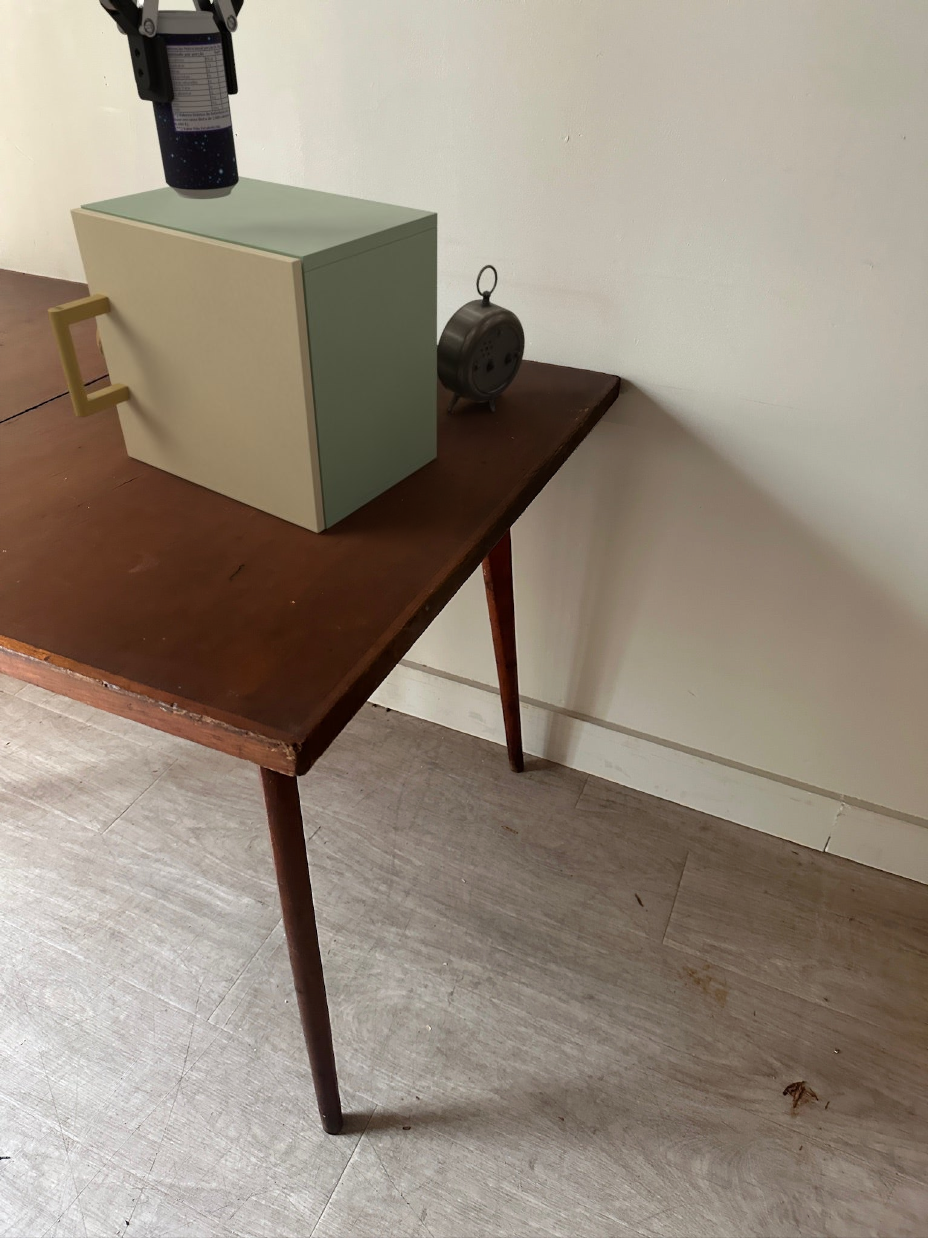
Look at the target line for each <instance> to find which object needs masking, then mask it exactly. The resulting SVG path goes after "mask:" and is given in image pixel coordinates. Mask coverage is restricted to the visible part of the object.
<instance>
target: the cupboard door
mask: <svg viewBox="0 0 928 1238" xmlns="http://www.w3.org/2000/svg"><path fill="white" fill-rule="evenodd" d="M69 211H70V215H71V221H72V225H73V228H74V229H73V230H74V232H75V237H76V241H77V246H78V250H79V255H80V259H81V263H82V267H83V270H84V271H83V272H84V275H85V280H86V283H87V287H88V292H89V296H87V297H82V298H80V299H76V300H72V301H70V302H66V303H62V304H59V305H56V306H53V307H52V306H51V307H49V308H47V313H48V314H47V315H48V317H49V321H50V325H51V328H52V332H53V333H52V334H53V336H54V339H55V343H56V348H57V351H58V355H59V358H60V362H61V366H62V371H63V374H64V377H65V381H66V385H67V388H68V391H69V392H68V393H69V395H70V398H71V404H72V406H73V409H74V414H75V416H76V417H77V418H86V417H90V416H92V415H94V414H97V413H99V412H102V411H105V410H107V409H109V408H111V407H114V406H116V409H117V410H116V411H117V414H118V418H119V423H120V427H121V431H122V435H123V439H124V444H125V447H126V451H127V456H128V457H130V458H132V459H135V460H137V461H140V462H142V463H144V464H147V465H149V466H153V467H155V468H157V469H159V470H162V471H164V472H167V473H169V474H172V475H174V476H176V477H178V478H182V479H184V480H186V481H189V482H191V483H194V484H196V485H198V486H201V487H204V488H206V489H208V490H211V491H213V492H216V493H218V494H221V495H222V496H223V495H224V496H225V497H228V498H230V499H232V500H235V501H238V502H240V503H243V504H244V505H248V506H249V507H252V508H255V509H258V510H260V511H262V512H265V513H267V514H270V515H272V516H274V517H277V518H278V519H279V518H280V519H282V520H285V521H287V522H289V523H292V524H294V525H296V526H299V527H301V528H304V529H307V530H309V531H311V532H313V533H316V534H320V533H321V532H322V531H324V530H325V529H326V528H325V527H324V516H323V504H322V493H321V482H320V471H319V460H318V448H317V437H316V426H315V415H314V403H313V392H312V381H311V370H310V359H309V347H308V336H307V325H306V314H305V302H304V291H303V280H302V269H301V260H300V259H296V258H292V257H288V256H283V255H279V254H275V253H271V252H266V251H262V250H258V249H253V248H249V247H245V246H241V245H236V244H232V243H228V242H223V241H219V240H215V239H210V238H206V237H202V236H198V235H193V234H189V233H185V232H180V231H176V230H172V229H168V228H163V227H159V226H155V225H150V224H146V223H142V222H137V221H133V220H129V219H125V218H120V217H116V216H112V215H107V214H103V213H99V212H94V211H90V210H86V209H82V208H81V207H76V208H71V209H70V210H69ZM92 318H95V322H96V326H97V328H98V330H99V334H100V338H101V343H102V347H103V351H104V355H105V360H106V362H105V364H106V367H107V372H108V376H109V380H110V384H111V385H109V386H106V387H104V388H101V389H98V390H96V391H93V392H91V393H88V394H87V391H86V388H85V382H84V380H83V376H82V372H81V368H80V364H79V361H78V356H77V353H76V348H75V345H74V341H73V337H72V332H71V329H70V325H73V324H76V323H80V322H82V321H83V322H84V321H85V320H89V319H92Z"/></svg>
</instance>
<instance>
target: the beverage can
mask: <svg viewBox="0 0 928 1238" xmlns="http://www.w3.org/2000/svg"><path fill="white" fill-rule="evenodd" d="M212 17H213V13H212V12H207V11H196V10H190V9H189V10H186V9H168V10H167V9H158V18H157V30H156V36H158V37H164V40H165V42H166V47H167V54H168V60H169V66H170V73H171V79H172V86H173V92H174V100H173V101H172V102H170V103H160V102H153V101H151V102H152V109H153V116H154V121H155V127H156V133H157V139H158V145H159V150H160V156H161V162H162V168H163V174H164V180H165V184H166V185H167V186H168V187H171V188H172V189H174V190H175V191H176V192H177V194H178V195H179V196H181V197H184V198H190V199H214V198H221V197H225V196H228V195H230V194H231V190H232V189H233V188H234V187H235V185H236V184H237V183H238V181H239V177H238V176H239V170H238V161H237V153H236V145H235V138H234V137H235V135H234V130H233V129H234V128H233V121H232V112H231V106H230V97H229V96H230V95H228V87H227V79H226V71H225V63H224V55H223V47H222V39H221V34H220V32H219V30H218V28H217V26H216V24H215V22H214V20H213V18H212Z"/></svg>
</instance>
